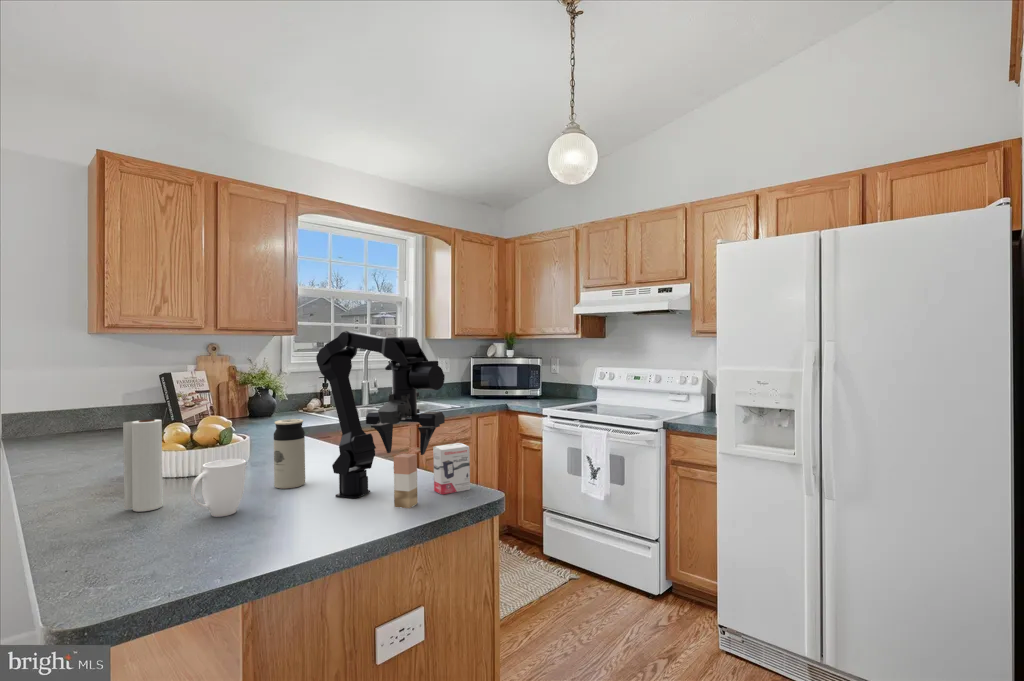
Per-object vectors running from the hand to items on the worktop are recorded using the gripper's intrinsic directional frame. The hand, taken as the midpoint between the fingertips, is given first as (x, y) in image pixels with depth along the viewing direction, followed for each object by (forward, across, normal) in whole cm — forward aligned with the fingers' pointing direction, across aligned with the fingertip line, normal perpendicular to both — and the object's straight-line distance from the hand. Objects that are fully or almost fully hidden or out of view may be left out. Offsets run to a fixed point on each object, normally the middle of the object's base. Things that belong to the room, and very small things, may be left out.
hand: (405, 453), depth 129 cm
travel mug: (+12, -41, +7) cm, 44 cm away
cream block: (+8, 0, 0) cm, 8 cm away
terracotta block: (+4, 0, 0) cm, 4 cm away
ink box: (+13, +5, +15) cm, 20 cm away
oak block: (+12, 0, 0) cm, 12 cm away
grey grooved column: (+12, -60, -20) cm, 65 cm away
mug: (+12, -38, -19) cm, 44 cm away
